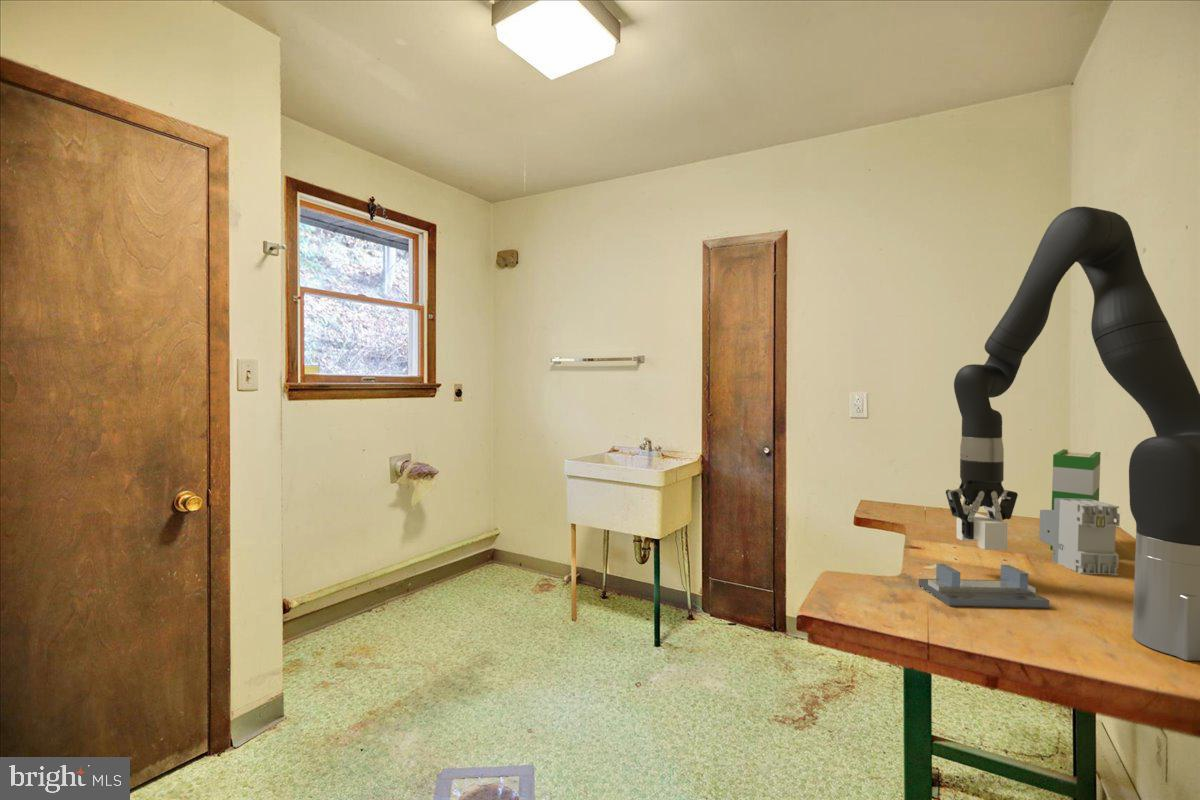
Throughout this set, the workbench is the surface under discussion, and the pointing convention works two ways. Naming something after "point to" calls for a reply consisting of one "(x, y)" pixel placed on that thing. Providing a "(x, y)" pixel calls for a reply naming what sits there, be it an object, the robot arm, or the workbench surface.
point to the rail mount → (984, 589)
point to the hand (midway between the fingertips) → (981, 538)
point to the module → (986, 532)
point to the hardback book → (1075, 476)
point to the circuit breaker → (1081, 534)
